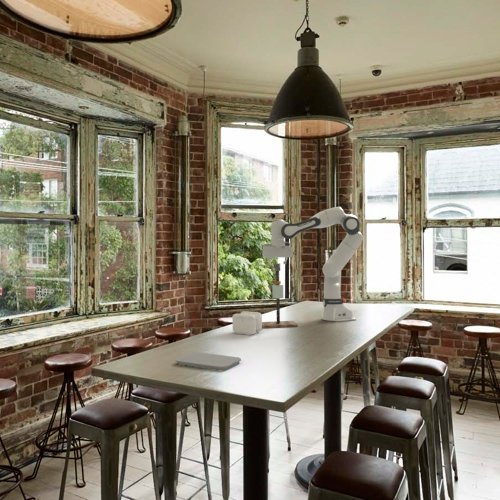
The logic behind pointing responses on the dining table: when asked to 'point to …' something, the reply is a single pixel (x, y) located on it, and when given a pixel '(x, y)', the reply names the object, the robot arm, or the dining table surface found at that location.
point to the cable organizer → (247, 322)
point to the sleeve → (277, 291)
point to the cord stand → (278, 309)
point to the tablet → (209, 361)
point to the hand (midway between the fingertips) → (277, 264)
